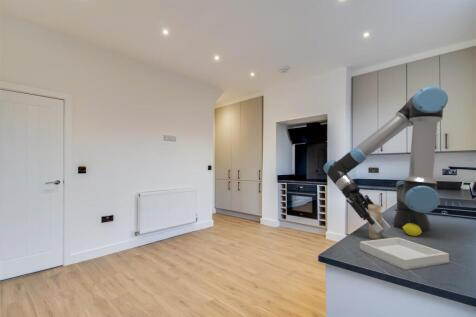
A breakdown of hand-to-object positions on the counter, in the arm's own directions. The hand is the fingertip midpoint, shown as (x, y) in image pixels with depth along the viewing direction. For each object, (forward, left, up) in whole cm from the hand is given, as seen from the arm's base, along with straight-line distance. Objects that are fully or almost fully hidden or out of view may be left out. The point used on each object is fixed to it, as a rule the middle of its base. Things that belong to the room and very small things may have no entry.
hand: (384, 229), depth 101 cm
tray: (+9, +15, -4) cm, 18 cm away
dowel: (+1, -4, -4) cm, 6 cm away
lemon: (-17, -2, -5) cm, 18 cm away
